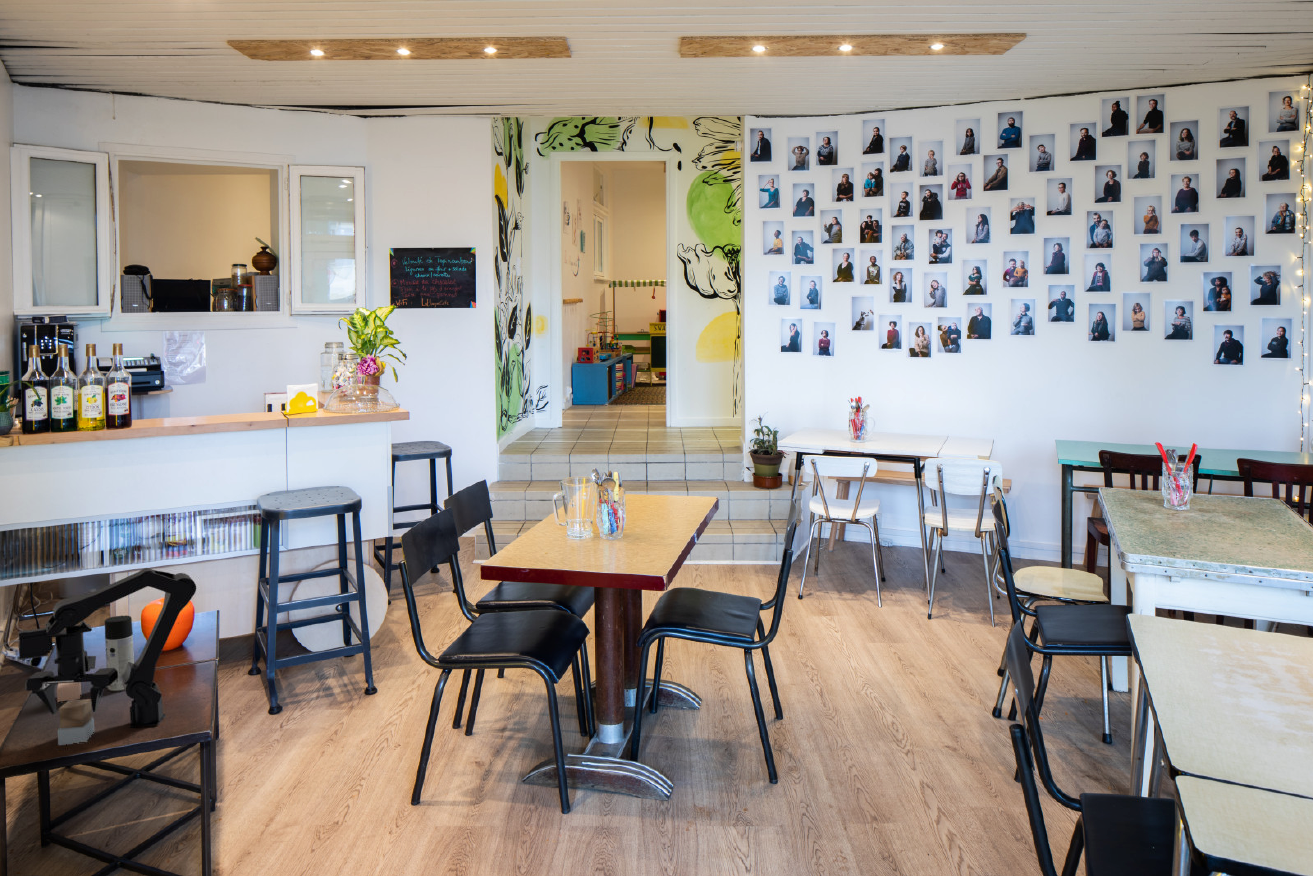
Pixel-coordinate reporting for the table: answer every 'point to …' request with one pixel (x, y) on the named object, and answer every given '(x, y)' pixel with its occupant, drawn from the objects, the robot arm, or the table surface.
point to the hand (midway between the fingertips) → (74, 712)
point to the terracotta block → (68, 691)
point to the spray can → (119, 647)
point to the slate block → (75, 733)
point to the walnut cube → (75, 713)
